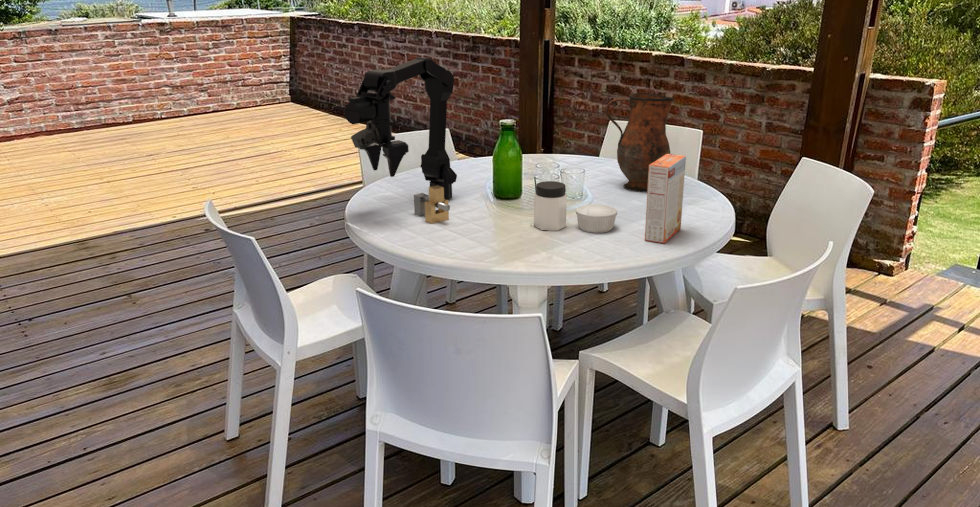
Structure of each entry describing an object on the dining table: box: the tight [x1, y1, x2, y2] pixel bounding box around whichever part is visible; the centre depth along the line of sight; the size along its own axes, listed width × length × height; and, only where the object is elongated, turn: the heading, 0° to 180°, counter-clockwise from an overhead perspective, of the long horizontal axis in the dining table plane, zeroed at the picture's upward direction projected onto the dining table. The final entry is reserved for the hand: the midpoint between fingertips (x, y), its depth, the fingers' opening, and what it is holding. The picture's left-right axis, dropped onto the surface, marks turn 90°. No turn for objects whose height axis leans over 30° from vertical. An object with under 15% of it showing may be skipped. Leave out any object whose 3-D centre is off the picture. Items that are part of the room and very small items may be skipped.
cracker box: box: [644, 153, 687, 244], centre depth 207 cm, size 14×6×21 cm, turn 149°
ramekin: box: [575, 204, 618, 234], centre depth 216 cm, size 11×11×5 cm
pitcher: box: [605, 92, 675, 193], centre depth 250 cm, size 17×21×30 cm
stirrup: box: [424, 185, 450, 225], centre depth 220 cm, size 6×3×10 cm, turn 130°
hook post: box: [413, 192, 451, 218], centre depth 222 cm, size 4×15×6 cm, turn 40°
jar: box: [533, 180, 568, 232], centre depth 216 cm, size 9×8×12 cm
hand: (383, 173), depth 219 cm, fingers open, 9 cm apart
